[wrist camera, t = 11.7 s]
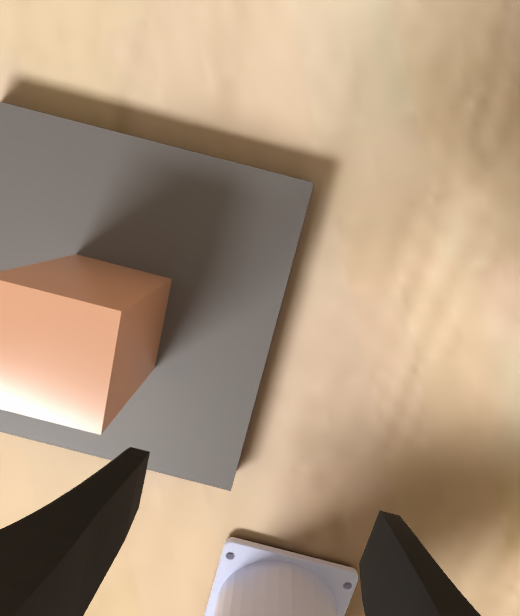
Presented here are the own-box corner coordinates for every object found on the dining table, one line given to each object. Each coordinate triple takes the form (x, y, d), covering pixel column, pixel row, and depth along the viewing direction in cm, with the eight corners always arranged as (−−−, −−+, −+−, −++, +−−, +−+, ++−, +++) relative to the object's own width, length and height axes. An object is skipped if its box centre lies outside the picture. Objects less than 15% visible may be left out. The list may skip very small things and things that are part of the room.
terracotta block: (154, 368, 20) (100, 434, 14) (63, 345, 20) (-28, 401, 14) (172, 278, 19) (121, 311, 13) (75, 253, 19) (-19, 275, 13)
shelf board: (234, 472, 23) (230, 490, 21) (-25, 406, 23) (-46, 419, 21) (312, 184, 19) (314, 182, 17) (-2, 103, 19) (-26, 95, 17)
